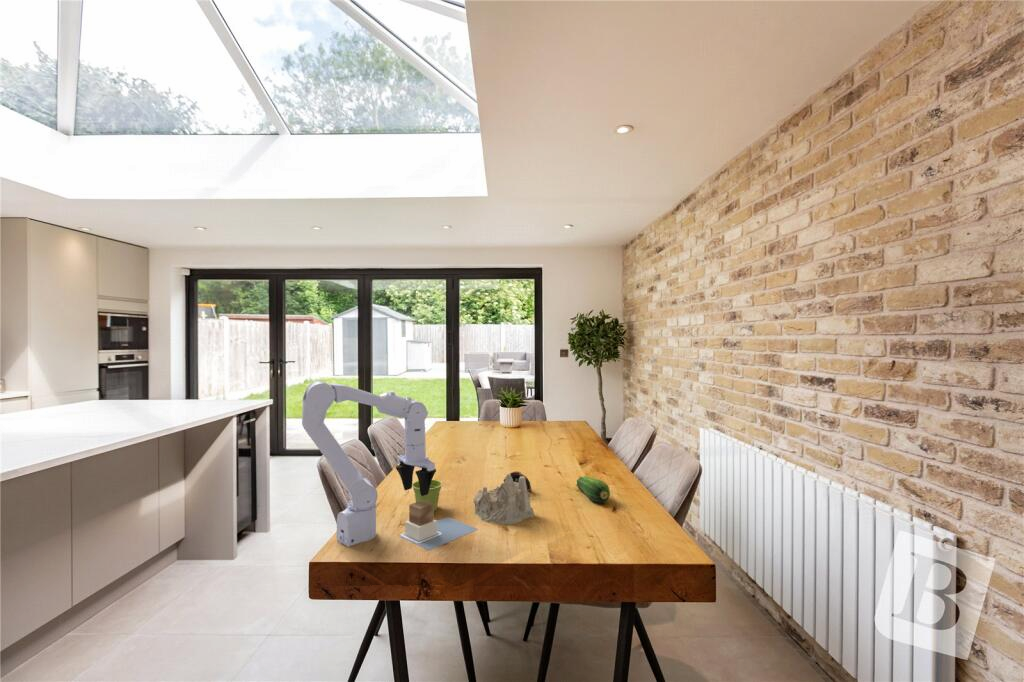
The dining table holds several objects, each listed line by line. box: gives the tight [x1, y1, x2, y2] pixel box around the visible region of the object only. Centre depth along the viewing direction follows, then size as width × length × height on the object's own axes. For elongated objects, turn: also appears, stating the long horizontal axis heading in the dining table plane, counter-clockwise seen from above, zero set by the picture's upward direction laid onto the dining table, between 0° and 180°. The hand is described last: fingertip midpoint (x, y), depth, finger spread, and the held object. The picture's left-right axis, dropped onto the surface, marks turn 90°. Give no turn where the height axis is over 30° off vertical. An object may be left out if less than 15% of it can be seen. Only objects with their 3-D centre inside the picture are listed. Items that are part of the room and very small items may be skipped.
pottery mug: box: [502, 471, 533, 493], centre depth 155 cm, size 12×10×8 cm
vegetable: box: [576, 475, 611, 504], centre depth 151 cm, size 7×7×20 cm
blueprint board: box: [398, 516, 478, 551], centre depth 118 cm, size 17×13×1 cm
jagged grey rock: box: [472, 473, 535, 525], centre depth 132 cm, size 16×16×15 cm
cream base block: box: [404, 518, 438, 541], centre depth 117 cm, size 6×6×4 cm
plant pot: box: [412, 478, 443, 512], centre depth 136 cm, size 9×9×9 cm
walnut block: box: [408, 500, 434, 526], centre depth 117 cm, size 4×4×4 cm
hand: (416, 492), depth 123 cm, fingers open, 7 cm apart
